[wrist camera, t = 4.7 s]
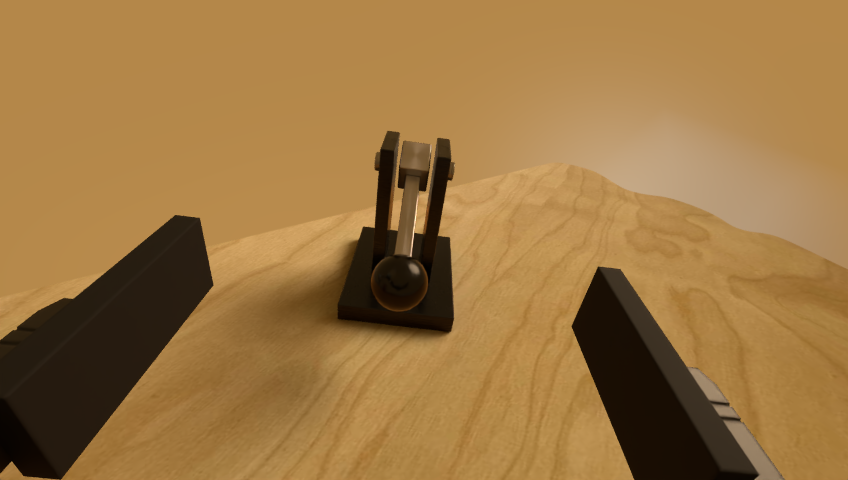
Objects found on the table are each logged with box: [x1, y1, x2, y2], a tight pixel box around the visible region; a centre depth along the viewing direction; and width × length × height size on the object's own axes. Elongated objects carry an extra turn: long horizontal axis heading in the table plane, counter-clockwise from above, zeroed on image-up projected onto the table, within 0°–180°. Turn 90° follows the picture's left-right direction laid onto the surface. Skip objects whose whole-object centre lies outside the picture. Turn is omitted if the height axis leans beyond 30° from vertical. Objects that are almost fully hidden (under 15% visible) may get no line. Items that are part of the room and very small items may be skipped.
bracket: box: [338, 131, 455, 332], centre depth 32 cm, size 12×9×13 cm
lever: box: [371, 141, 432, 312], centre depth 27 cm, size 13×4×4 cm, turn 178°
